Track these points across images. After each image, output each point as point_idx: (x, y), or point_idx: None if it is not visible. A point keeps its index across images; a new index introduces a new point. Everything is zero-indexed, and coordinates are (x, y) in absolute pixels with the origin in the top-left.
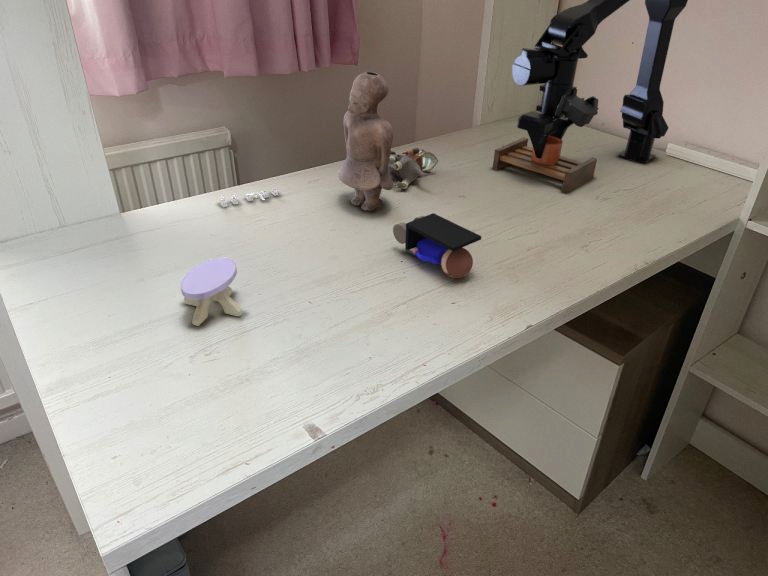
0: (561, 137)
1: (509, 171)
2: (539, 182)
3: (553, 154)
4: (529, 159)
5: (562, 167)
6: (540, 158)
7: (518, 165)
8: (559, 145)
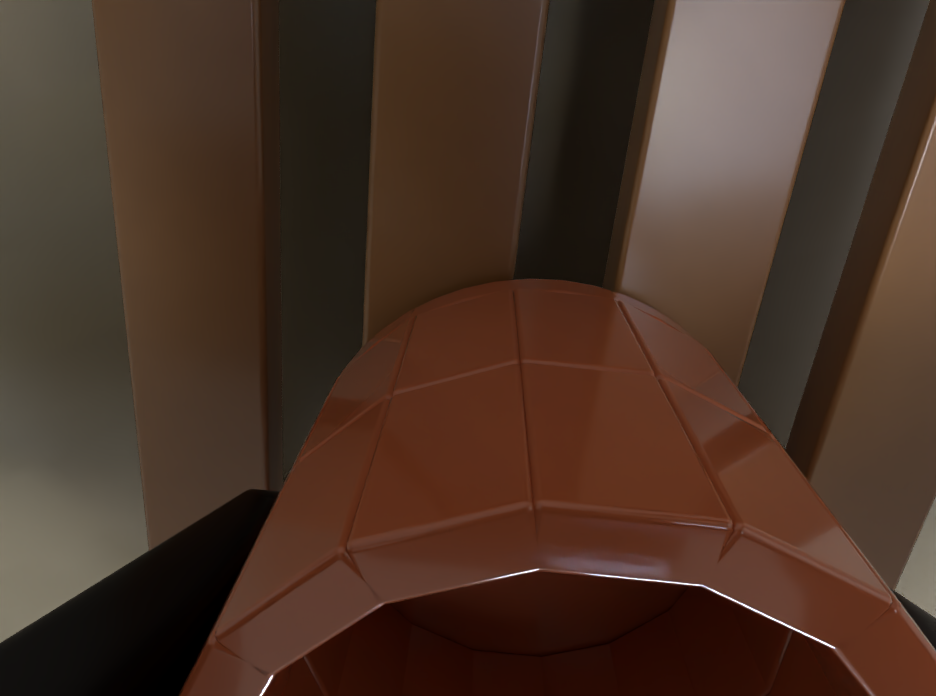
0: (49, 686)
1: None
2: (831, 299)
3: (760, 420)
4: None
5: (660, 122)
6: None
7: None
8: (702, 486)
